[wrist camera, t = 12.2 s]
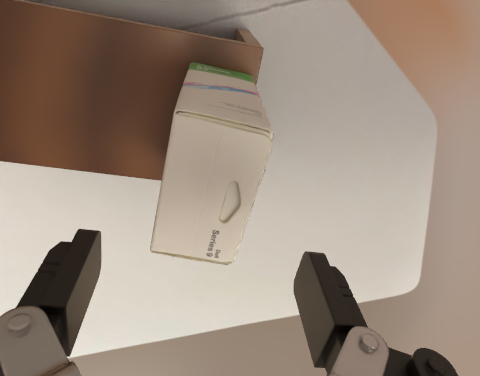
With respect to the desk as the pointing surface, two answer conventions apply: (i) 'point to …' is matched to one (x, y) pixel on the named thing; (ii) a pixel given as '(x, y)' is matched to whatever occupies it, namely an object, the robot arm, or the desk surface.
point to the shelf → (99, 86)
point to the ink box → (211, 166)
